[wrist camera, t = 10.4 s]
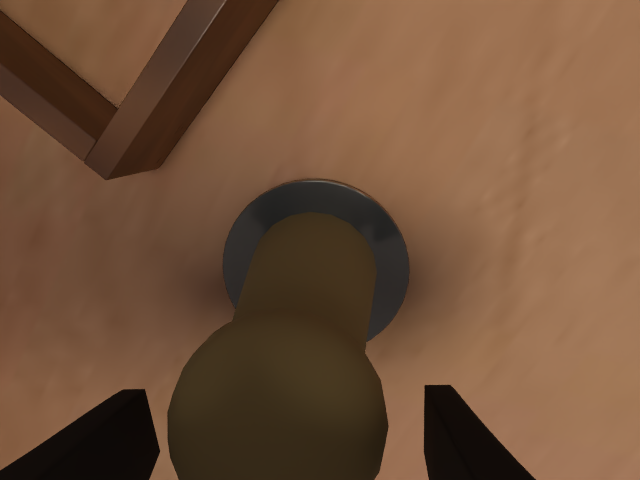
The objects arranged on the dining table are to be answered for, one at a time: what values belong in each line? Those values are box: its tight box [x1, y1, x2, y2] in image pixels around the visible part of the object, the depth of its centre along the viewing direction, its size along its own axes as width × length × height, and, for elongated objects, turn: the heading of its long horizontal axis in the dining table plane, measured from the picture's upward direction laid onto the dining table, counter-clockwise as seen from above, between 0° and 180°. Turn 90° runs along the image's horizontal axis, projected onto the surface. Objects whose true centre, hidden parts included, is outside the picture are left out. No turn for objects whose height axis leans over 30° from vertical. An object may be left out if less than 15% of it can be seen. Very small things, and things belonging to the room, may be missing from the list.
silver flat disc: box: [223, 179, 409, 342], centre depth 18 cm, size 9×9×1 cm
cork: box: [168, 212, 388, 480], centre depth 13 cm, size 6×6×11 cm
